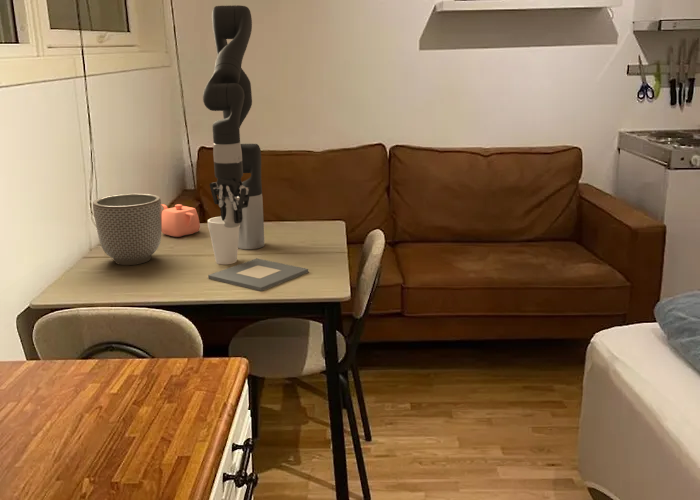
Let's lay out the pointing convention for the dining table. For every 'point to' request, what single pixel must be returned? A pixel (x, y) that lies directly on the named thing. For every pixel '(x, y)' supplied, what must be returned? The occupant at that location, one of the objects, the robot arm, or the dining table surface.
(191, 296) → the dining table surface
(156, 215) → the planter
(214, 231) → the foam cup
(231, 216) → the rook chess piece
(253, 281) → the board
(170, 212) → the teapot
